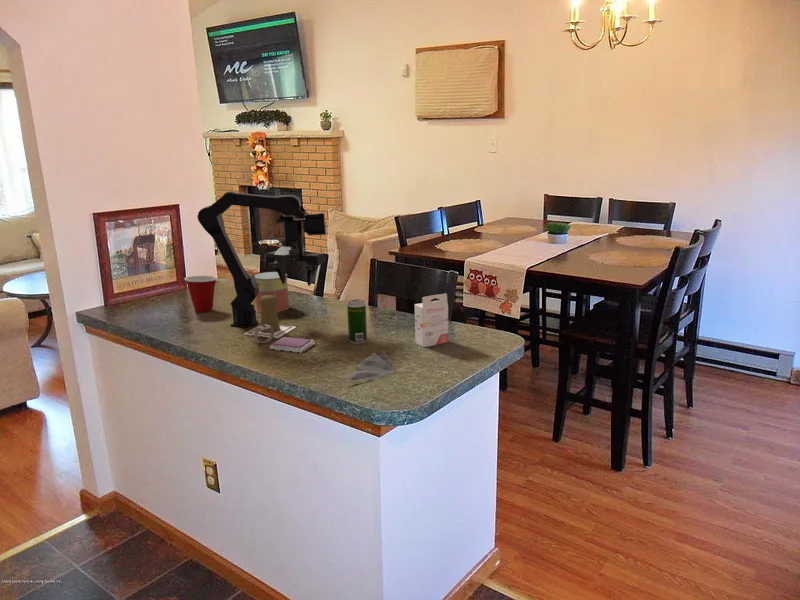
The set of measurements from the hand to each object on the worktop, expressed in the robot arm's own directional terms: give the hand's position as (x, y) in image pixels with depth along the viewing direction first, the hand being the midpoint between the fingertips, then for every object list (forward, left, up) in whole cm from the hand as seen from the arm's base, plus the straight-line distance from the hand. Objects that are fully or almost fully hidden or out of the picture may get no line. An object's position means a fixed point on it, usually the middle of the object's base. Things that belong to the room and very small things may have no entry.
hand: (296, 284), depth 199 cm
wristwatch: (0, -21, -13) cm, 24 cm away
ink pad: (+10, -22, -13) cm, 27 cm away
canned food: (-17, +12, -13) cm, 25 cm away
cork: (-4, -11, -13) cm, 17 cm away
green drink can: (+26, -12, -13) cm, 31 cm away
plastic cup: (-39, +3, -13) cm, 41 cm away
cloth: (+38, -31, -14) cm, 51 cm away
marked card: (-4, -11, -13) cm, 17 cm away
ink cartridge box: (+47, -7, -13) cm, 49 cm away
